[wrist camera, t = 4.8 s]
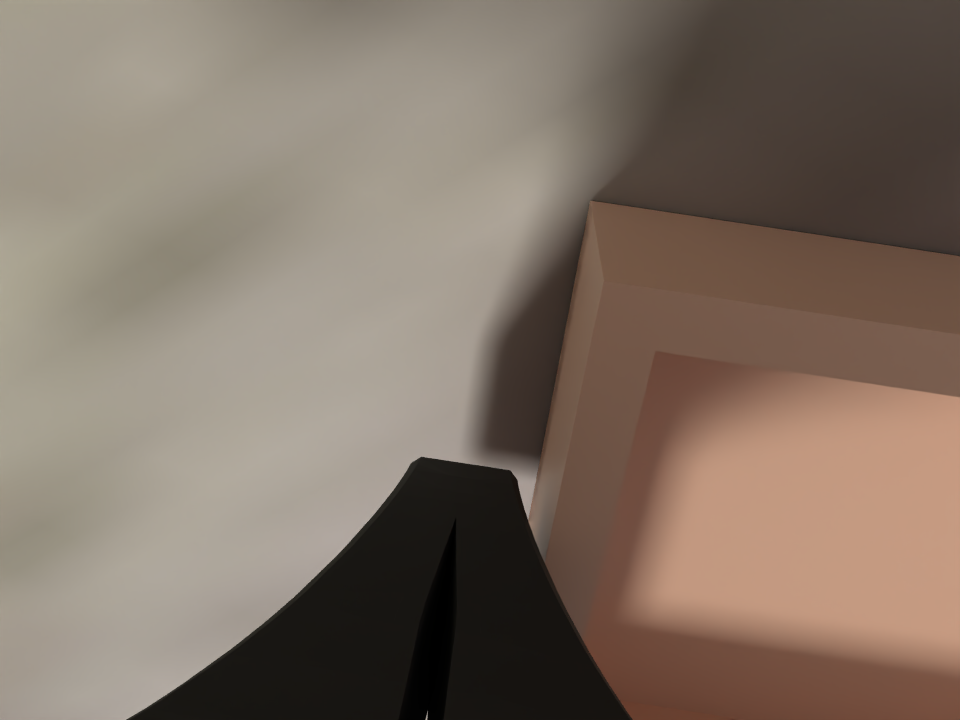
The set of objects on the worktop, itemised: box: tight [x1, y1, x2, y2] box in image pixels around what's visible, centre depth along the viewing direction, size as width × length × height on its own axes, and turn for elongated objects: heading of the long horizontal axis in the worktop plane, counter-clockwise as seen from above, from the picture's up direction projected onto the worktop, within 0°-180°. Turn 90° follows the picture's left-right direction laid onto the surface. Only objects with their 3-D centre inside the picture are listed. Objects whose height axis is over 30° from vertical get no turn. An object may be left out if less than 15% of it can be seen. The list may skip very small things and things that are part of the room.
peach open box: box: [528, 201, 960, 720], centre depth 10 cm, size 8×10×3 cm
